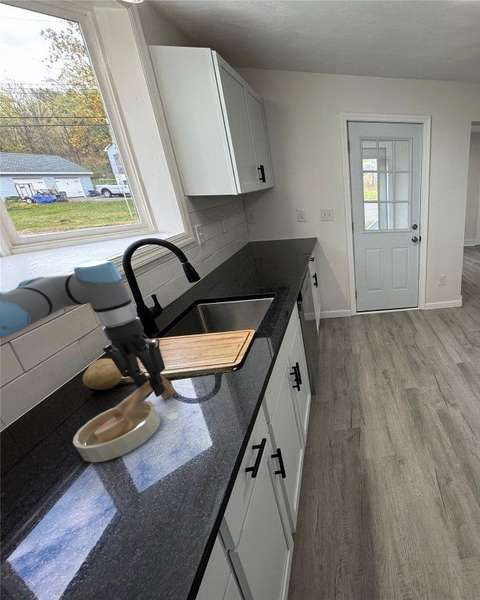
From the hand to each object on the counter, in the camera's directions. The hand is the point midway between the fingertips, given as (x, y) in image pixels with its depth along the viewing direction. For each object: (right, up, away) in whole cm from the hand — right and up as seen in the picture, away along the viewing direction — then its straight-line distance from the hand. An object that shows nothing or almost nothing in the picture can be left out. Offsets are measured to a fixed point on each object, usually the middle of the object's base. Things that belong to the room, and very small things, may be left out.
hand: (154, 394), depth 90 cm
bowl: (0, -8, -10) cm, 13 cm away
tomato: (-4, -5, -10) cm, 12 cm away
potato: (-23, -1, +11) cm, 26 cm away
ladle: (+2, -5, -6) cm, 8 cm away
